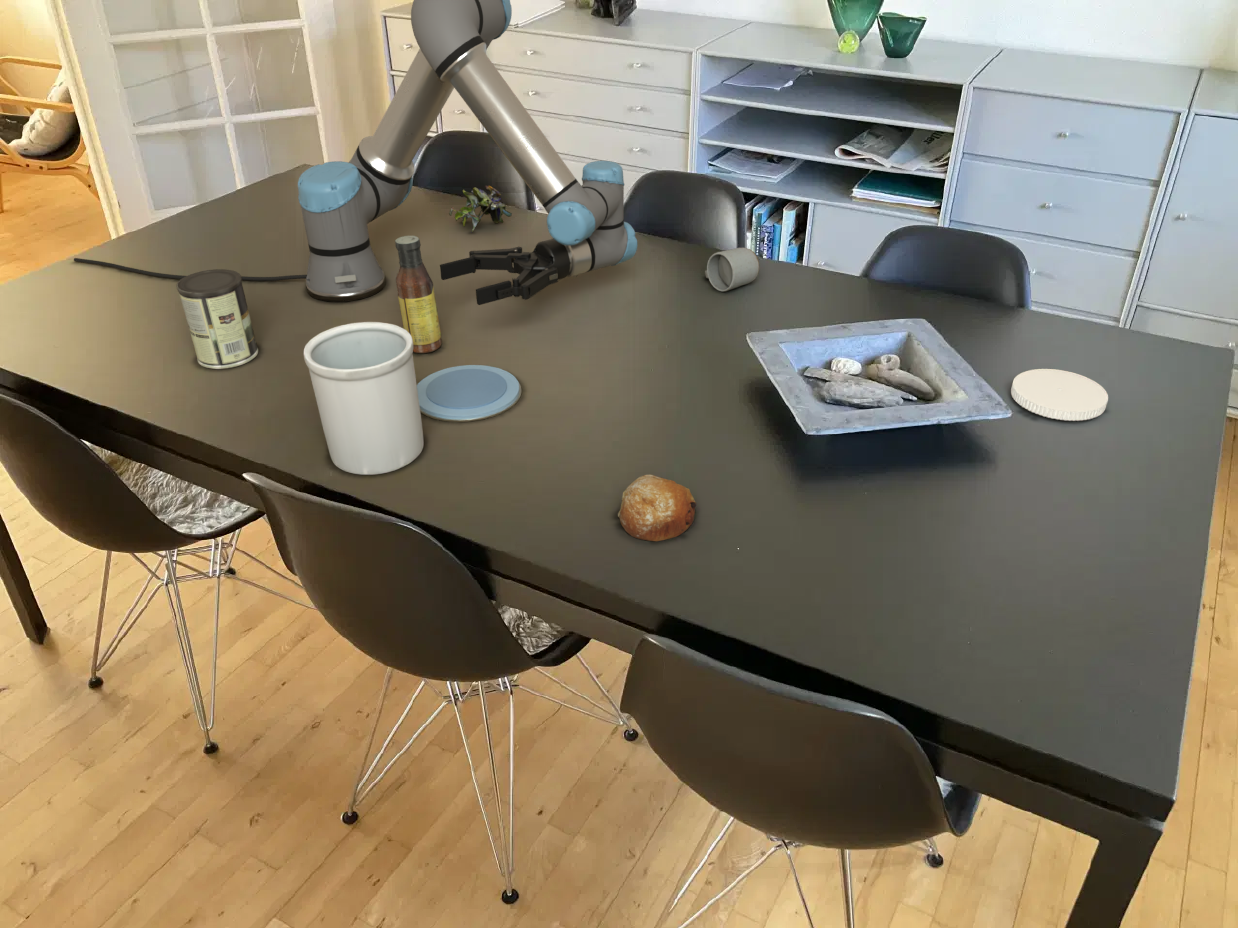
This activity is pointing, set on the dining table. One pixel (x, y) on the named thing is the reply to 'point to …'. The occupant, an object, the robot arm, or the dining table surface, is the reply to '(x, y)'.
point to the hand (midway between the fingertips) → (458, 284)
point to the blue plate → (467, 393)
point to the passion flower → (486, 204)
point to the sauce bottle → (417, 297)
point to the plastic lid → (1059, 394)
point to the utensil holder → (367, 396)
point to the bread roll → (656, 508)
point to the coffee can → (218, 318)
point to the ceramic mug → (732, 268)
